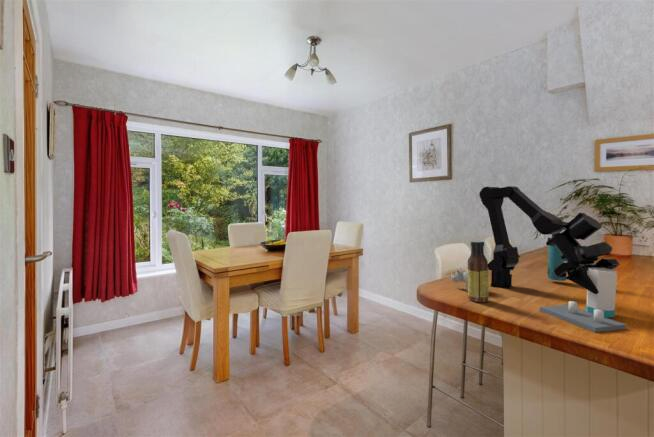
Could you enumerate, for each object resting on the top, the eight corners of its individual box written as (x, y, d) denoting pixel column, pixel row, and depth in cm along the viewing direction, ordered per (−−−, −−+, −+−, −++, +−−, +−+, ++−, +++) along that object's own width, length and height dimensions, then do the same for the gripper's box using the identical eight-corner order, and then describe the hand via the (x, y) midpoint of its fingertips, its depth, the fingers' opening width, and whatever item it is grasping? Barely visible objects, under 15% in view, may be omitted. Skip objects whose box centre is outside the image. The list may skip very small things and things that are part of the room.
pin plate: (539, 310, 95) (540, 297, 95) (566, 308, 97) (567, 295, 97) (594, 332, 79) (595, 316, 79) (625, 329, 82) (626, 313, 81)
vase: (588, 314, 91) (590, 270, 91) (585, 308, 96) (587, 266, 96) (615, 318, 88) (618, 272, 87) (611, 312, 93) (613, 269, 92)
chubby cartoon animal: (454, 285, 125) (455, 263, 124) (487, 290, 117) (488, 267, 116) (447, 288, 120) (448, 266, 119) (481, 294, 112) (482, 271, 111)
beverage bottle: (570, 284, 125) (572, 234, 124) (553, 284, 125) (555, 234, 124) (558, 280, 132) (560, 232, 130) (542, 280, 132) (544, 232, 131)
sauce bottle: (486, 298, 107) (488, 240, 106) (489, 304, 101) (491, 242, 100) (465, 296, 109) (467, 239, 108) (467, 302, 104) (469, 241, 102)
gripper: (564, 233, 93) (602, 279, 83) (614, 232, 97) (656, 276, 87) (540, 255, 101) (572, 300, 91) (586, 253, 105) (622, 296, 95)
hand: (606, 292), depth 91 cm, fingers closed on vase, 6 cm apart
